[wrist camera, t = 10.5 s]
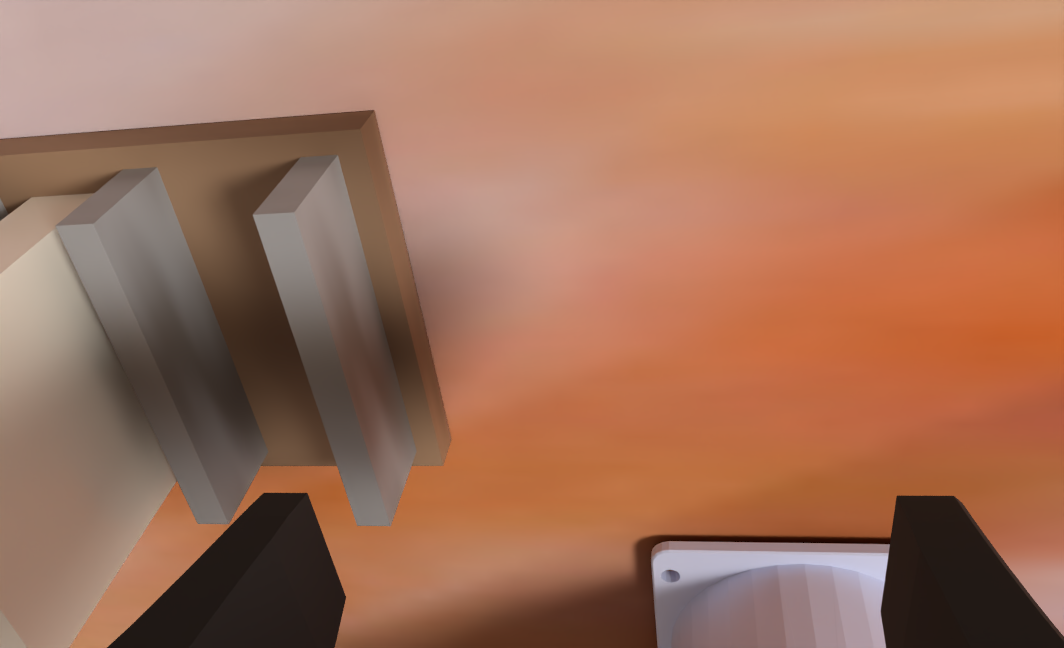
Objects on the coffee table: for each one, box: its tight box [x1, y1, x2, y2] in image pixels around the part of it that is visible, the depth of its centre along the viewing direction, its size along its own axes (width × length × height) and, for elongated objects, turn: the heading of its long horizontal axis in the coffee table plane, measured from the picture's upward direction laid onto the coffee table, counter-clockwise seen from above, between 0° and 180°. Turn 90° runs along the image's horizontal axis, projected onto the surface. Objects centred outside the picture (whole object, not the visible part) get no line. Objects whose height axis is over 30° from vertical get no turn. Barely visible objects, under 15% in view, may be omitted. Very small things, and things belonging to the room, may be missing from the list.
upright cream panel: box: [0, 193, 177, 648], centre depth 18 cm, size 7×2×7 cm, turn 7°
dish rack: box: [0, 110, 451, 526], centre depth 21 cm, size 9×14×4 cm, turn 97°
